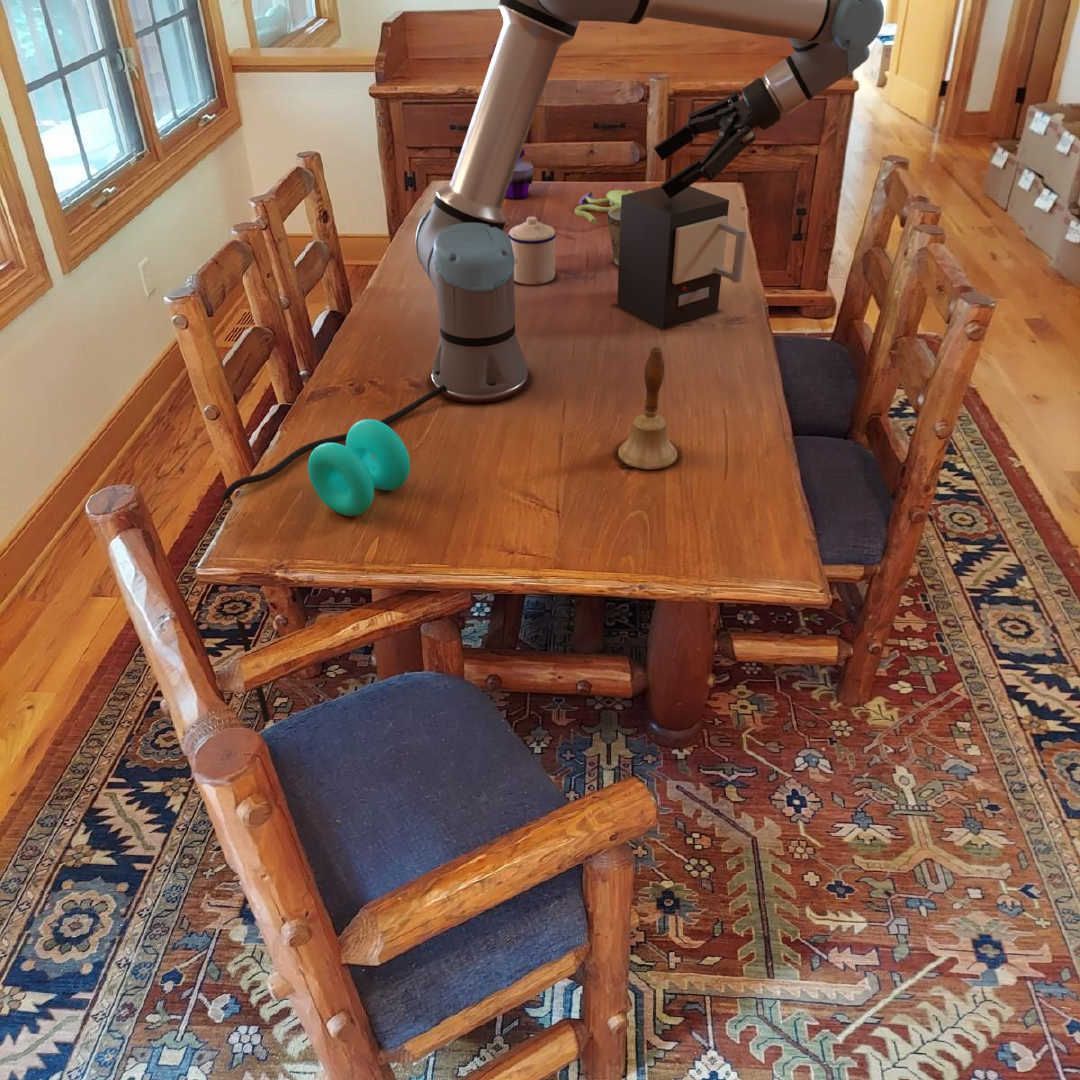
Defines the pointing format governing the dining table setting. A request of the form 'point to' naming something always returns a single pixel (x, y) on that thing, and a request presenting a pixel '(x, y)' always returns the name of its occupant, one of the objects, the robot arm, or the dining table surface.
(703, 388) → the dining table surface
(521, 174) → the potion bottle
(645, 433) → the hand bell
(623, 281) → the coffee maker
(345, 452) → the teal yo-yo
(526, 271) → the teacup with lid
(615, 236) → the ceramic cup
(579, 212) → the figurine
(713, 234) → the chamber door
